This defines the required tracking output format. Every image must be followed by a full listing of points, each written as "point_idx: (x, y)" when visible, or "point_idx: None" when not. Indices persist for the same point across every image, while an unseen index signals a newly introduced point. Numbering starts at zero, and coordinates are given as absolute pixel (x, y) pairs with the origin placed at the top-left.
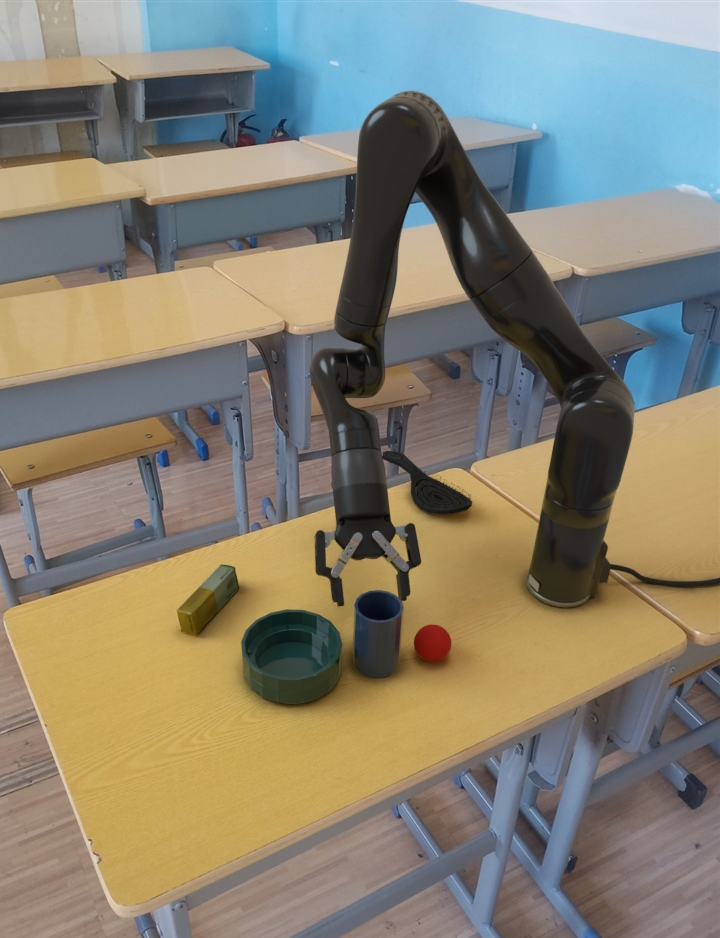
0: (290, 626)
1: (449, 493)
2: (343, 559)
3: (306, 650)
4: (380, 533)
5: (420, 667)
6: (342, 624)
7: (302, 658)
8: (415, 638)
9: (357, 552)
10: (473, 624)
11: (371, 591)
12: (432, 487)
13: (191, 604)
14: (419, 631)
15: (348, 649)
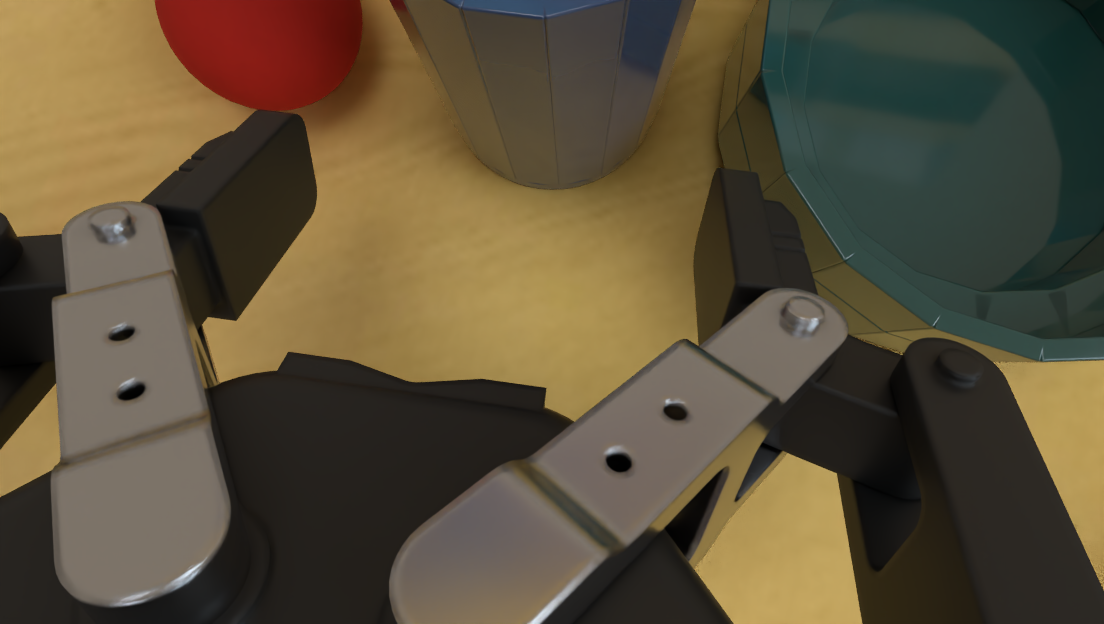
0: (966, 312)
1: None
2: (729, 372)
3: (860, 215)
4: (62, 541)
5: (374, 5)
6: (628, 368)
7: (893, 166)
8: (337, 19)
9: (528, 438)
10: (29, 198)
11: (534, 2)
12: None
13: None
14: (298, 14)
15: (650, 195)
